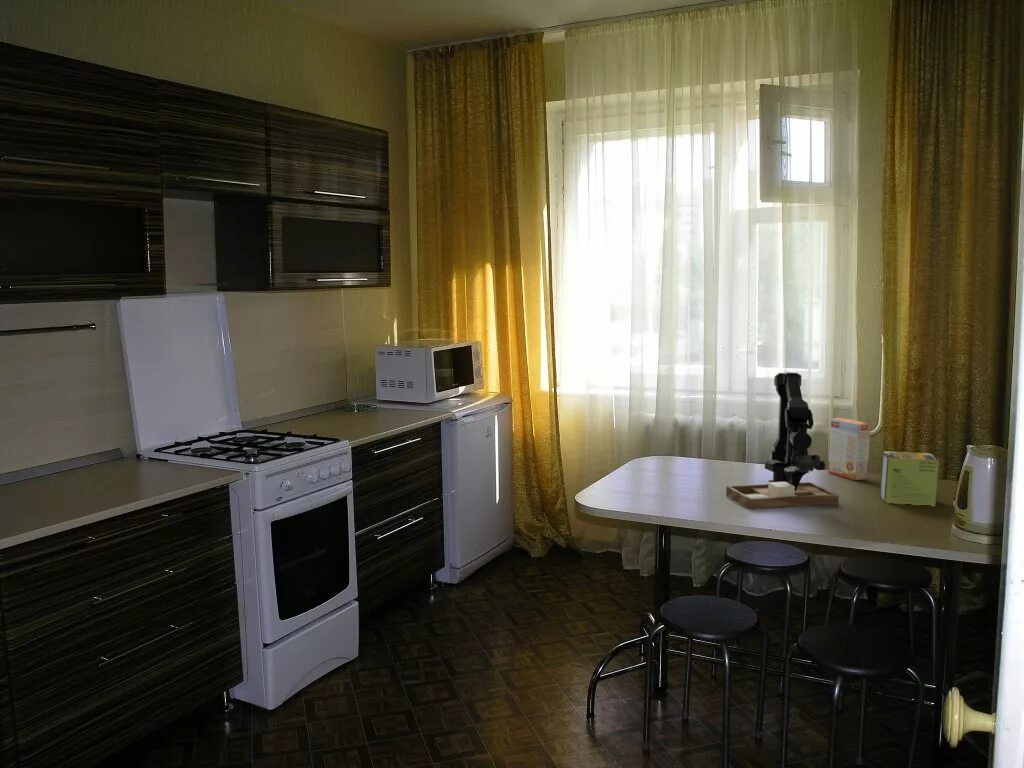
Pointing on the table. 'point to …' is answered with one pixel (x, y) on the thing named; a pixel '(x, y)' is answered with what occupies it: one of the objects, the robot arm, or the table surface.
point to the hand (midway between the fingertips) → (793, 490)
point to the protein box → (909, 478)
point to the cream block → (780, 489)
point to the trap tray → (802, 497)
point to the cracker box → (849, 448)
